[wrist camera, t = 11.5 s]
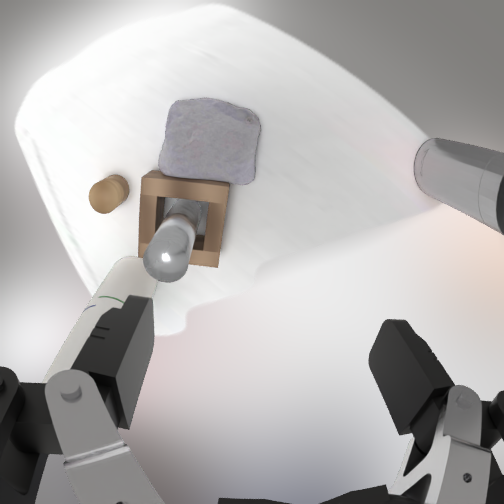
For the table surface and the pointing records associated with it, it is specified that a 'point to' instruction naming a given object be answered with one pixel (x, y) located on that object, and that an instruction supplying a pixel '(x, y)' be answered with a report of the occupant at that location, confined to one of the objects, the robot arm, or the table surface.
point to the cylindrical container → (104, 306)
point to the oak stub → (108, 193)
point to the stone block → (210, 141)
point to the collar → (210, 191)
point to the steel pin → (173, 242)
